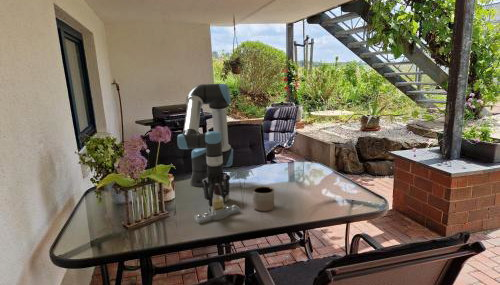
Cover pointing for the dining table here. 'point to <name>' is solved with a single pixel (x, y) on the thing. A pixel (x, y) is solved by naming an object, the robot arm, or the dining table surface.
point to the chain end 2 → (229, 210)
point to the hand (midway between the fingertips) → (217, 210)
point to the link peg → (218, 204)
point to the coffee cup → (217, 192)
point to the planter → (263, 198)
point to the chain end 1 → (208, 216)
